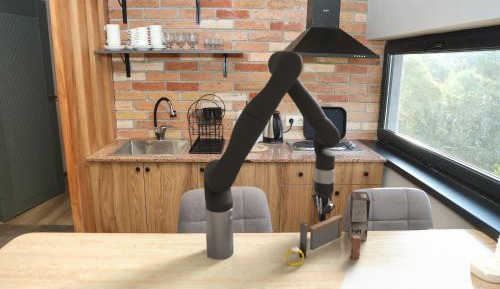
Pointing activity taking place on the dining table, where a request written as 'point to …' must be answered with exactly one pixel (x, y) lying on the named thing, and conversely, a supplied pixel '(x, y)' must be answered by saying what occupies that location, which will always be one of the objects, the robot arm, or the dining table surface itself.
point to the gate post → (303, 239)
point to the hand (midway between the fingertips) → (321, 221)
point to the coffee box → (359, 214)
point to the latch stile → (355, 247)
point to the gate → (325, 231)
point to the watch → (295, 250)
